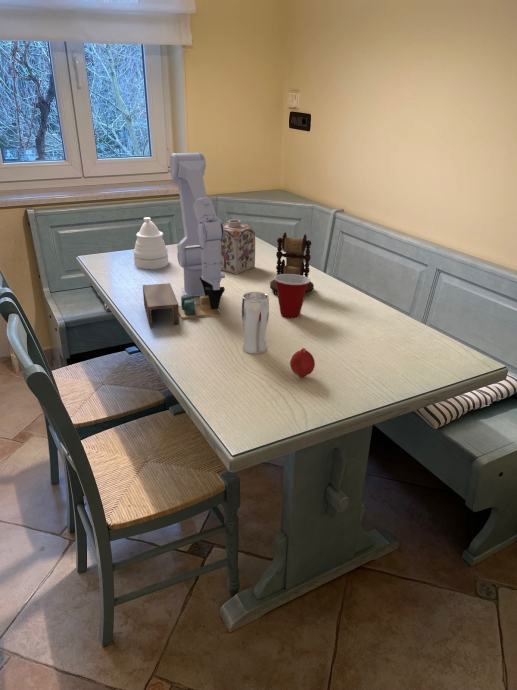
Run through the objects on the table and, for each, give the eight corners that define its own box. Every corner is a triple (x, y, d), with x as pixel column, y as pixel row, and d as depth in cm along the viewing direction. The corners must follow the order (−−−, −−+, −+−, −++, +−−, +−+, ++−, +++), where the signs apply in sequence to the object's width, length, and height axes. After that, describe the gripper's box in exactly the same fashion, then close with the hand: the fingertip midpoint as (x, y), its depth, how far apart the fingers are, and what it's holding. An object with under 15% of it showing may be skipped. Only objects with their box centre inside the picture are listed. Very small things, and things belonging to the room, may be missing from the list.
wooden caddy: (171, 302, 168) (170, 283, 165) (179, 325, 152) (178, 304, 149) (144, 304, 166) (142, 285, 163) (149, 327, 150) (148, 306, 147)
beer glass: (264, 356, 136) (266, 302, 129) (238, 353, 137) (239, 299, 130) (269, 344, 142) (271, 292, 135) (244, 342, 143) (245, 290, 136)
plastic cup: (313, 311, 163) (315, 274, 158) (300, 324, 155) (303, 285, 149) (280, 305, 167) (282, 269, 162) (267, 317, 159) (268, 279, 153)
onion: (288, 371, 129) (289, 342, 125) (311, 370, 130) (313, 341, 126) (291, 383, 124) (293, 353, 120) (315, 382, 124) (317, 352, 121)
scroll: (316, 286, 184) (320, 230, 175) (308, 301, 171) (312, 241, 162) (275, 282, 187) (277, 226, 178) (265, 296, 174) (266, 236, 166)
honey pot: (165, 269, 198) (162, 221, 190) (131, 268, 198) (126, 220, 190) (170, 259, 209) (168, 213, 201) (138, 258, 209) (134, 212, 201)
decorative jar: (232, 261, 208) (232, 215, 200) (255, 267, 202) (256, 220, 194) (212, 268, 199) (211, 221, 191) (236, 275, 193) (236, 226, 185)
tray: (213, 305, 167) (213, 290, 165) (220, 316, 160) (220, 300, 158) (176, 309, 164) (175, 294, 162) (181, 320, 156) (180, 304, 154)
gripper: (230, 268, 151) (230, 311, 157) (219, 253, 163) (219, 294, 169) (205, 269, 149) (206, 314, 155) (196, 255, 162) (198, 296, 168)
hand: (212, 304), depth 162 cm, fingers open, 7 cm apart
